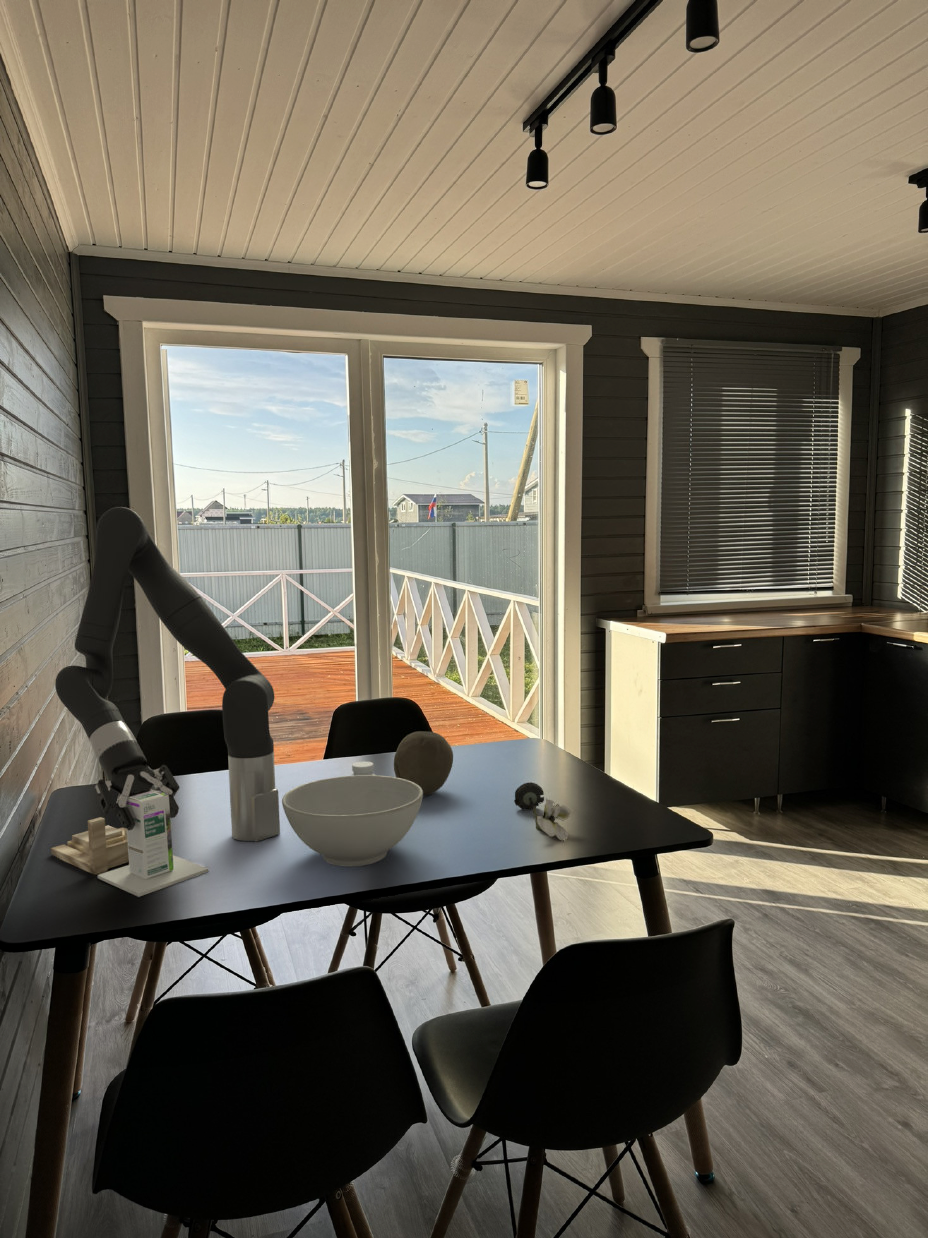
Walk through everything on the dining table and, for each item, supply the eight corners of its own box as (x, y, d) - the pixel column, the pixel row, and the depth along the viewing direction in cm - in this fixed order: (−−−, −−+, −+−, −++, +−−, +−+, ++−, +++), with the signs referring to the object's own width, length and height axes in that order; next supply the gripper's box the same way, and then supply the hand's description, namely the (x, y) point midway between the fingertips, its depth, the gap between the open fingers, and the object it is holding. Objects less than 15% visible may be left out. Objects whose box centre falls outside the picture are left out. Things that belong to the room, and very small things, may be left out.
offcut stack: (127, 845, 173) (126, 830, 172) (84, 858, 166) (83, 843, 166) (109, 838, 177) (108, 824, 177) (66, 851, 170) (65, 836, 170)
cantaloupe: (448, 803, 196) (446, 739, 194) (388, 802, 198) (386, 738, 197) (458, 786, 210) (456, 726, 208) (402, 785, 212) (400, 725, 211)
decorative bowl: (257, 856, 165) (254, 795, 164) (367, 823, 183) (365, 768, 182) (340, 895, 146) (337, 826, 144) (453, 853, 164) (451, 791, 163)
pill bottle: (343, 818, 187) (341, 766, 186) (360, 809, 193) (358, 759, 192) (368, 822, 184) (366, 769, 183) (384, 813, 190) (383, 762, 189)
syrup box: (145, 880, 152) (141, 801, 151) (128, 873, 156) (123, 796, 155) (174, 870, 157) (170, 793, 155) (156, 863, 160) (152, 788, 159)
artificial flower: (548, 813, 192) (560, 773, 190) (567, 861, 170) (581, 816, 168) (510, 805, 191) (522, 764, 189) (525, 852, 169) (539, 806, 167)
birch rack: (167, 851, 169) (165, 802, 168) (94, 875, 157) (91, 822, 156) (123, 834, 179) (120, 788, 179) (51, 855, 168) (48, 806, 167)
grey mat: (208, 871, 158) (208, 868, 157) (138, 897, 147) (138, 893, 147) (166, 855, 166) (166, 852, 166) (97, 878, 156) (97, 875, 155)
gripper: (87, 746, 154) (124, 820, 147) (158, 732, 165) (196, 800, 158) (74, 771, 157) (110, 844, 151) (145, 755, 168) (181, 822, 162)
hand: (154, 821), depth 155 cm, fingers open, 8 cm apart
